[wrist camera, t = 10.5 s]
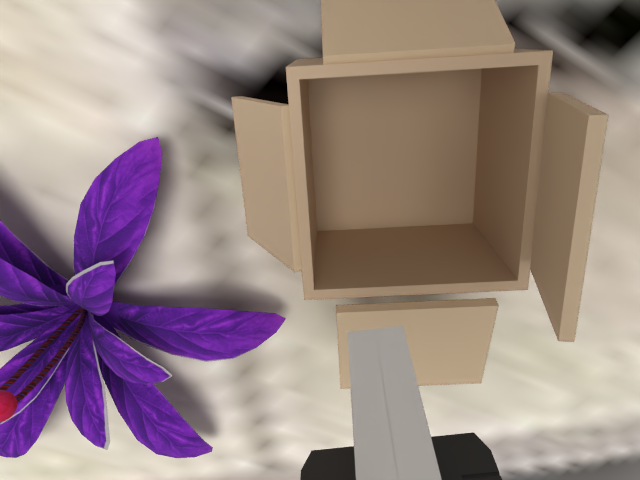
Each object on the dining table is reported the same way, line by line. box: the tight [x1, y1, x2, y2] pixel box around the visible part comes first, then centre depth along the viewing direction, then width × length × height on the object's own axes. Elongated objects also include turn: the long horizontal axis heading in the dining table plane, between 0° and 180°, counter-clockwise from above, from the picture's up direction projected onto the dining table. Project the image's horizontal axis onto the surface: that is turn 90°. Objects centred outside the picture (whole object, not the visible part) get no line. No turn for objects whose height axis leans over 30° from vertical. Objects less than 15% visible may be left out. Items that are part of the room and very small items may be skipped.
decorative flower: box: [0, 137, 286, 458], centre depth 33 cm, size 28×31×15 cm
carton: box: [231, 0, 553, 300], centre depth 30 cm, size 16×16×10 cm
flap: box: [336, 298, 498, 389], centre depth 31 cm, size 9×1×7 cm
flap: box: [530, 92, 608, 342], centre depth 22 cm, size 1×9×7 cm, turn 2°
